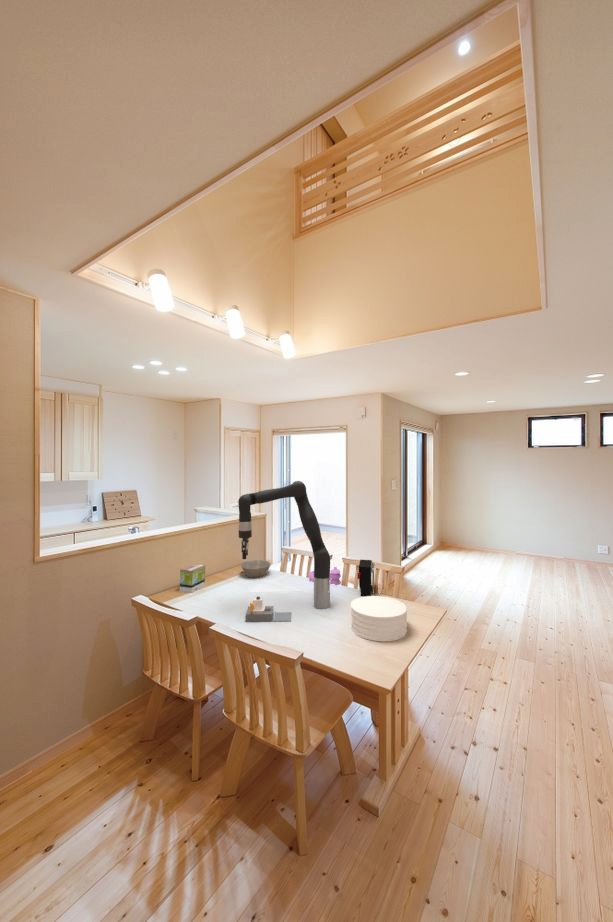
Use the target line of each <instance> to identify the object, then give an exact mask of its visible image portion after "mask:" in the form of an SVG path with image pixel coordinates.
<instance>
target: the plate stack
mask: <svg viewBox="0 0 613 922" xmlns="http://www.w3.org/2000/svg"><path fill="white" fill-rule="evenodd" d="M407 609H408V608H407V606H406V605H405V603H403V602H402V601H400V600H398V599H395V598H392V597H387V596H380V595H378V596H377V595H374V596H366V597H362V596H359V597H357V598H355V599H353V600H352V601H351V602H350V629H351V632H352V633H354V634H355V635H357V636H358V637H360V638H362V639H365V640H369V641H373V642H385V643H386V642H393V641H398V640H401V639H403V638H404V637H405V636H406V635H407V631H408V629H407V627H408V623H407V622H408V621H407V620H408V616H407V615H408V613H407V612H408V610H407Z"/></svg>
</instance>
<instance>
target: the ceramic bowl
mask: <svg viewBox="0 0 613 922" xmlns="http://www.w3.org/2000/svg"><path fill="white" fill-rule="evenodd" d="M271 565H272V564H271V562H270V561H267V560H264V559H263V560H261V559H257V560H254V559H253V560H248V561H243V562H241V563H240V564H239V566H240V567H241V569H242V571H243V573H244V574H245V575H246V576H247V577H248V578H252V579H257V578H262V577H264V576H265V575H266V574H267V573H268V571H269V569H270V568H271Z"/></svg>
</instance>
